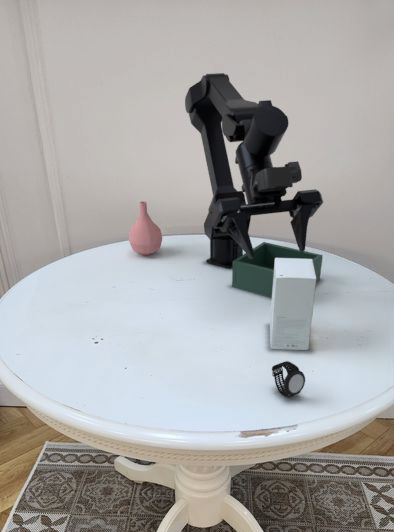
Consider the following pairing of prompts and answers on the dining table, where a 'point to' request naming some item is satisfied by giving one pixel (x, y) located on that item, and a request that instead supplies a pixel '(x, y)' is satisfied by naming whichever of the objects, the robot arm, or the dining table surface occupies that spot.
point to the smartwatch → (288, 379)
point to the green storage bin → (266, 267)
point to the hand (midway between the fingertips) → (277, 254)
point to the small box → (292, 303)
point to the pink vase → (145, 233)
